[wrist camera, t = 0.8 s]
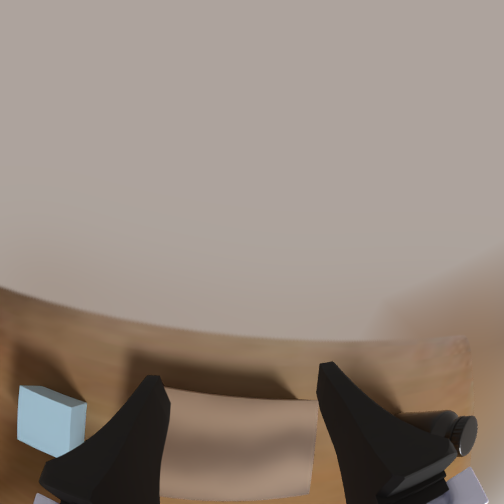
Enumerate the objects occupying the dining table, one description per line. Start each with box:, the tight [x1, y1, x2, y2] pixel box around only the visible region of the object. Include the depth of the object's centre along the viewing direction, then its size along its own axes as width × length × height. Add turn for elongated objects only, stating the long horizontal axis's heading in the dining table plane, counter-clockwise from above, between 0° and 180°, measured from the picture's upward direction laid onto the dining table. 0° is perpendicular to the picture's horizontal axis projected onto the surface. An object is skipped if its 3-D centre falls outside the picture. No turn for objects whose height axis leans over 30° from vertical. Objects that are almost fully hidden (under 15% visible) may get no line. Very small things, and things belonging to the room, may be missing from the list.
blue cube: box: [17, 385, 87, 458], centre depth 14 cm, size 5×5×5 cm
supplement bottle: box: [394, 410, 478, 457], centre depth 21 cm, size 7×7×12 cm
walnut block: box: [160, 386, 319, 501], centre depth 19 cm, size 10×14×4 cm
